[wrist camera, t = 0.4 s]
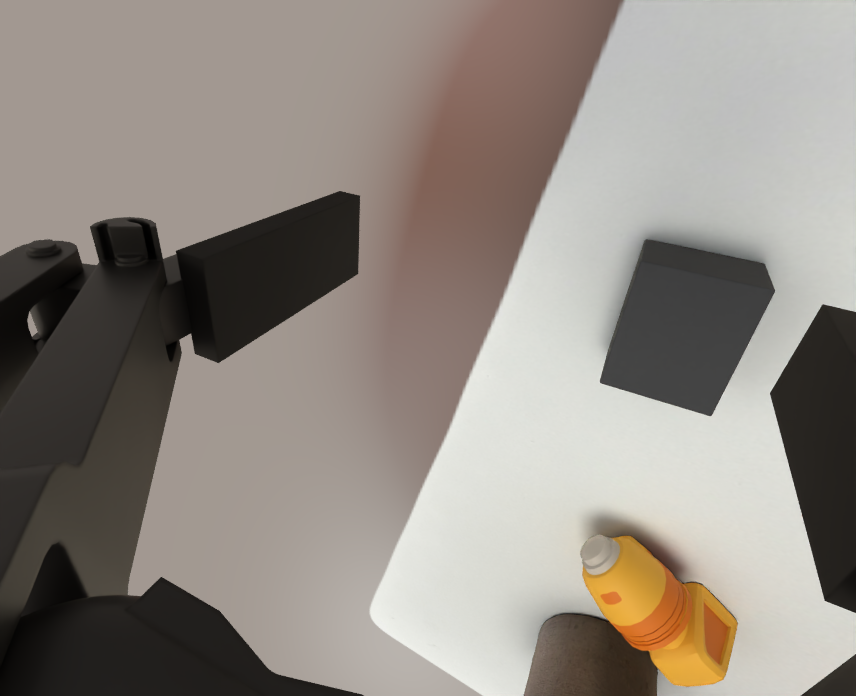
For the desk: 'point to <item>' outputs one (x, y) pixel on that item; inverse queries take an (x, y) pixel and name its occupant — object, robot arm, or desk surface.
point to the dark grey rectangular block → (685, 325)
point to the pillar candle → (588, 661)
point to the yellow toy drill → (659, 611)
